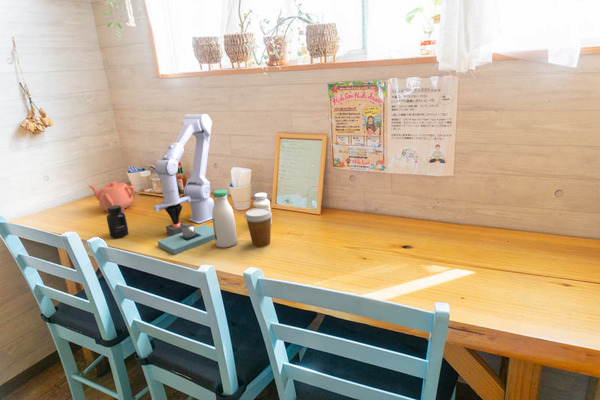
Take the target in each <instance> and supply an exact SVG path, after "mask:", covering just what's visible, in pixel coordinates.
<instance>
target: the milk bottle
mask: <svg viewBox="0 0 600 400" xmlns="http://www.w3.org/2000/svg"><path fill="white" fill-rule="evenodd" d="M227 192H228V191H227V190H226V189H217V190H214V191H213V193H212V195H213V198H214V207H213V211H212V219H211V220H212V226H213V227H212V228H214V234H215V239H214V240H215V245H216V247H218V248H223V249H224V248H226V249H227V248H230V247H233V246H235V245H236V244H237V243H238V237H237V235H238V234H237V229H236V228H237V227H236V220H235V214H234V213H235V212H234V210H233V208H232V205H231V204H230V203H229V201H228V193H227Z"/></svg>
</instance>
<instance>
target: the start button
mask: <svg viewBox="0 0 600 400" xmlns="http://www.w3.org/2000/svg"><path fill="white" fill-rule="evenodd" d="M180 222H181V221H179V223H178V224H173V222H172V223H171V224H172V227H173V228H177V227H179V226H181V225H180Z"/></svg>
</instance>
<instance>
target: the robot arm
mask: <svg viewBox="0 0 600 400" xmlns="http://www.w3.org/2000/svg"><path fill="white" fill-rule="evenodd" d="M210 117H211V116H209V115H208V114H207V113H203V114H202V113H201V114H199V113H197V114H193V113H191V114H190V113H186V115H184V117H183V119H182V121H181V122H182V123H181V124H182V127H181V129H180V131H179V133H178V136H177V137H176V139H175V142H171V143H170V144H168V147H167V149H166V151H165V153H164V155H162V157H161V159H158V160H157V161H156V162H155V165H154V172H155V173H156V174H157V177H158V179H159V180H160V184H161V192H162V196H163V201H162V202H160V203H158V204H156V205H153V211H154V212H156V213H158V212H159V211H161V210H164V211H166V213H167V214H168V215H169V218H170V219H171V221H172V223H173V224H178V223H179V222H180V216H181V211H182V210H183V206H182V204H185V203H189V205H190V211H191V217H190V218H188V220H189V221H191V222H193V223H196V224H197V225H199V224H202V223H204V222H208V221H210V220H213V219H212V211H213V207H214V203H215V200H214V199H213V198H212V197H211V196H210V195H211V182H210V181H209V180H208V179H207V177H206V174H207V166H208V157H209V149H210V142H211V141H210V140H211V132H212V125H213V122H212V119H211V118H210ZM191 136H193V137H194V138H196V141H195V150H194V157H193V164H192V172H191V176H190V177H189V178H187V179H186V184H185V186H184V188H183V195H184V196H181V197H180V193H179V189H178V182H177V175H176V173H177V172H178V171H179V161H180V160H181V158H182V156H183V154H184V152H185V149H184V147H185V145H186V144H187V142H188V141H189V139H190V138H191Z"/></svg>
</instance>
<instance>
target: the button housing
mask: <svg viewBox="0 0 600 400" xmlns="http://www.w3.org/2000/svg"><path fill="white" fill-rule="evenodd" d="M179 222H180V225H181V226H179V227H177V228H173V227H172V223H171V224H168V225H165V230H166V234H168V235H169V236H170V237H171V236H173V235H176V234H179V233H182V226H184V225H187V224H186V223H183V222H181V221H179Z"/></svg>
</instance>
